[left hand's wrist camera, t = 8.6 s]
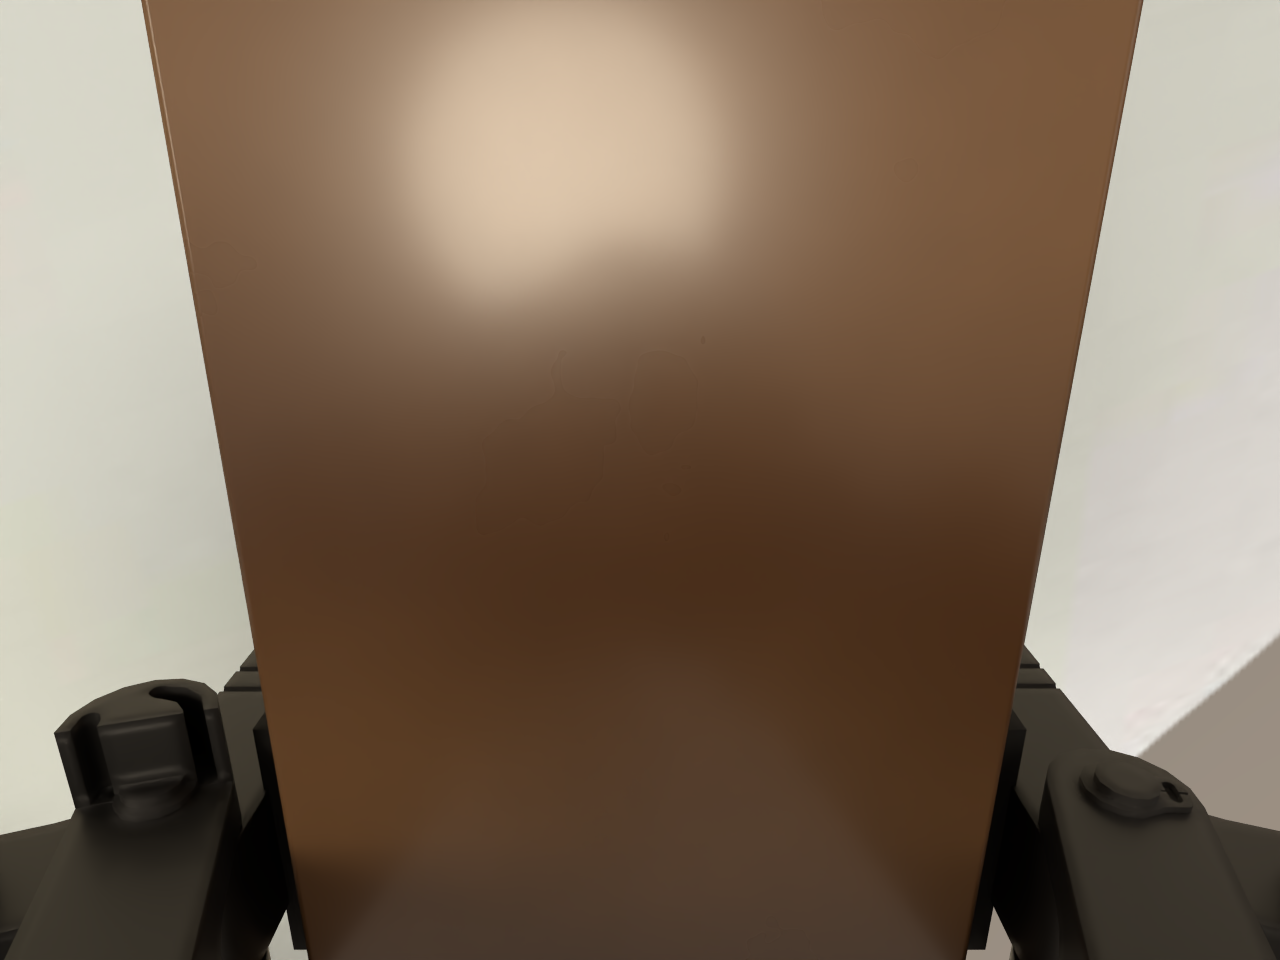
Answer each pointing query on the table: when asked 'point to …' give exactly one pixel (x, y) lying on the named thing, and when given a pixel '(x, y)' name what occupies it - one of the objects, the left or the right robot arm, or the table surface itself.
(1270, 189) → the table surface
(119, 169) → the table surface
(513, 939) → the bar
